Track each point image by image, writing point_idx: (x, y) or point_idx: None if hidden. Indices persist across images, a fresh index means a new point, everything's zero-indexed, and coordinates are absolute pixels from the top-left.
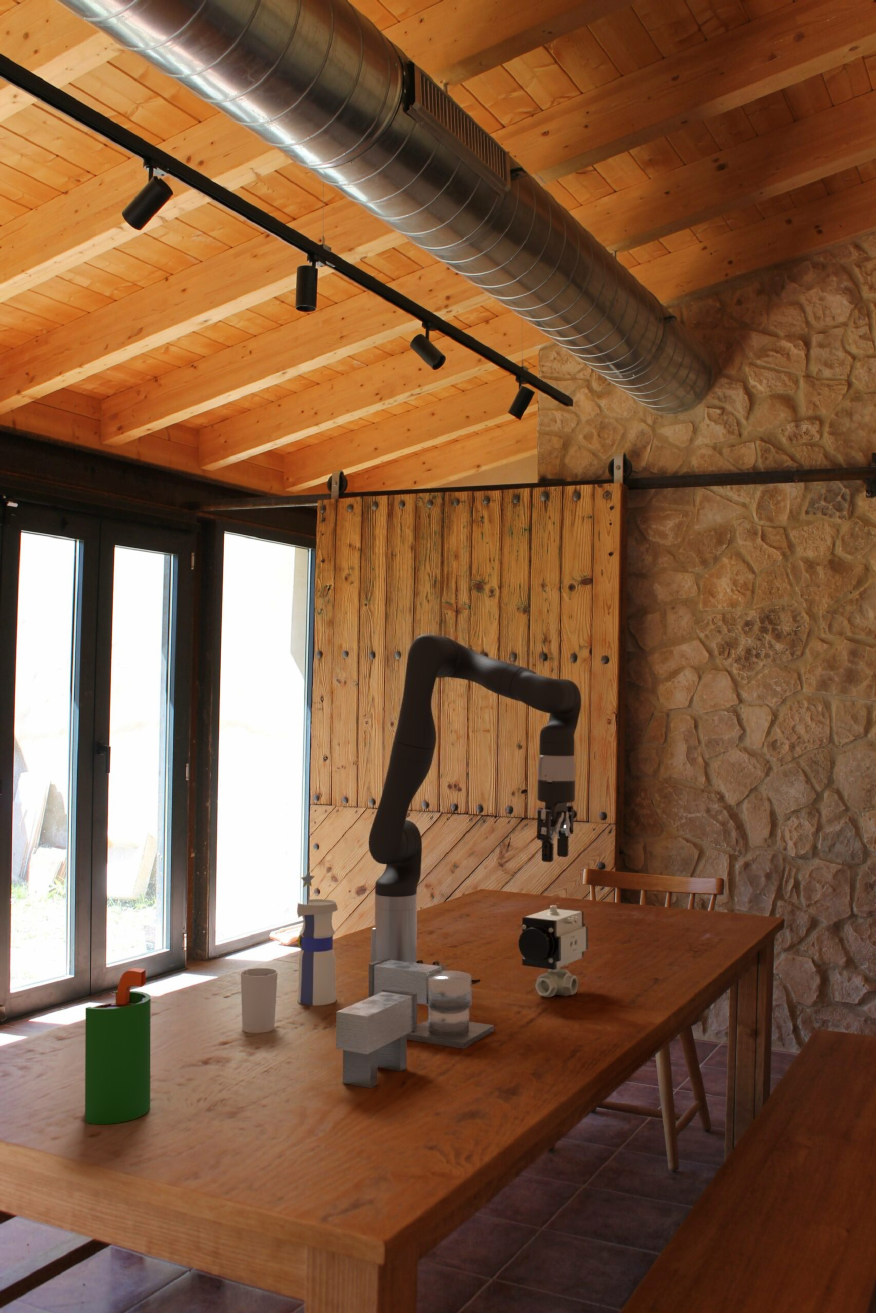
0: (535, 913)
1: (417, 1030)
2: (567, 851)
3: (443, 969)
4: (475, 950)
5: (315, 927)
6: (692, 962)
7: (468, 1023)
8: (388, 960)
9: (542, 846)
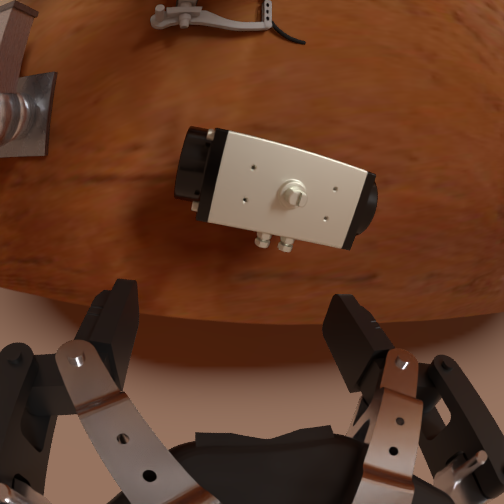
0: (287, 147)
1: None
2: (330, 347)
3: (155, 12)
4: (451, 39)
5: None
6: (437, 293)
7: (14, 140)
8: (8, 9)
9: (77, 332)
